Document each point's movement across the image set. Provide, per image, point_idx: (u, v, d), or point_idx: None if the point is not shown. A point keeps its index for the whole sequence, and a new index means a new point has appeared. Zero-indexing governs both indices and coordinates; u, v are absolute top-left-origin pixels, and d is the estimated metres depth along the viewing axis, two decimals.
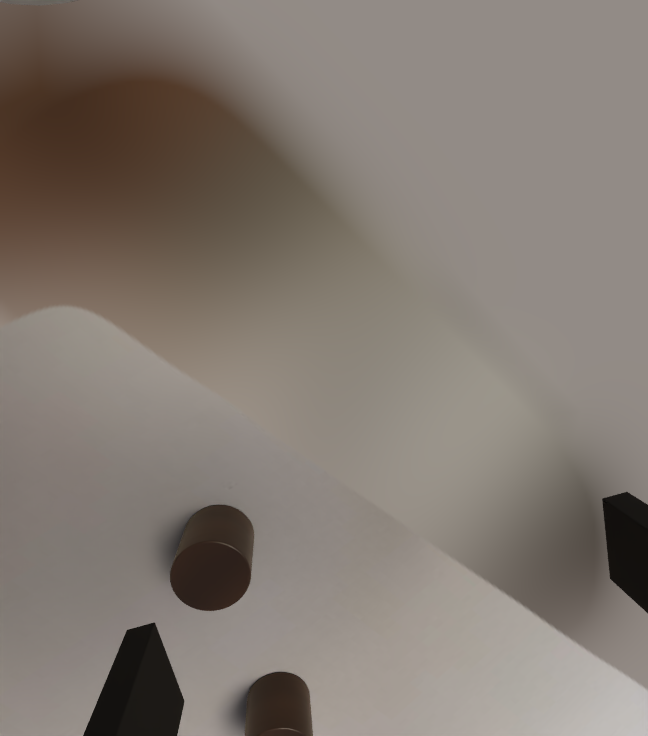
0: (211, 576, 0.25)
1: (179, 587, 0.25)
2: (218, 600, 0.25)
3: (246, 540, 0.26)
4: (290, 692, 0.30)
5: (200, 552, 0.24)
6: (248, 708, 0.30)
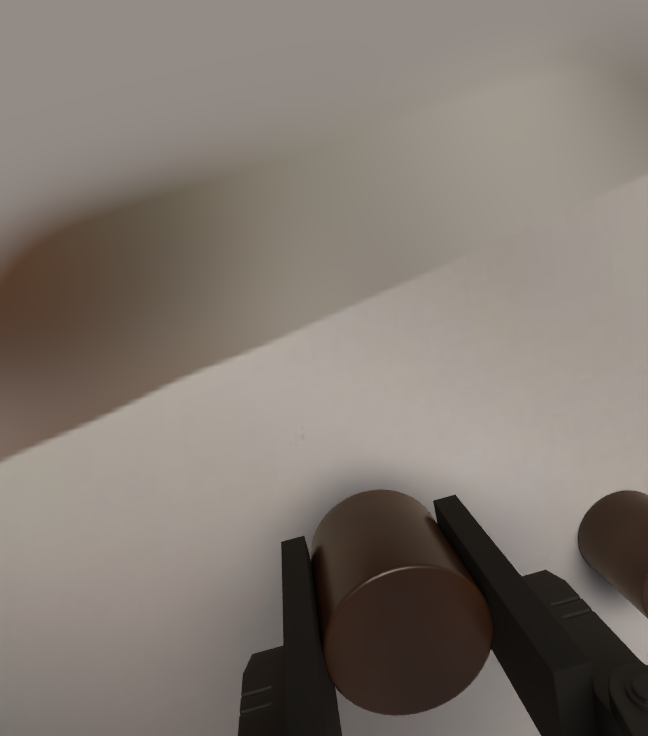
0: (409, 642, 0.11)
1: (394, 703, 0.12)
2: (467, 653, 0.11)
3: (394, 528, 0.12)
4: (621, 517, 0.20)
5: (347, 638, 0.11)
6: (603, 575, 0.21)
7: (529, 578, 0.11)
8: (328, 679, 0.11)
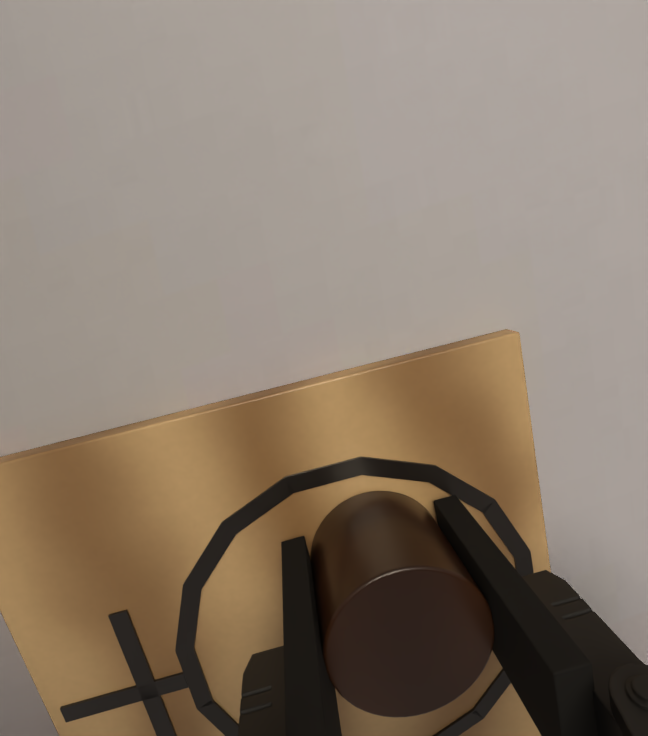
0: (409, 644, 0.11)
1: (394, 705, 0.11)
2: (468, 655, 0.11)
3: (395, 530, 0.12)
4: None
5: (348, 640, 0.11)
6: None
7: (529, 578, 0.11)
8: (328, 679, 0.11)
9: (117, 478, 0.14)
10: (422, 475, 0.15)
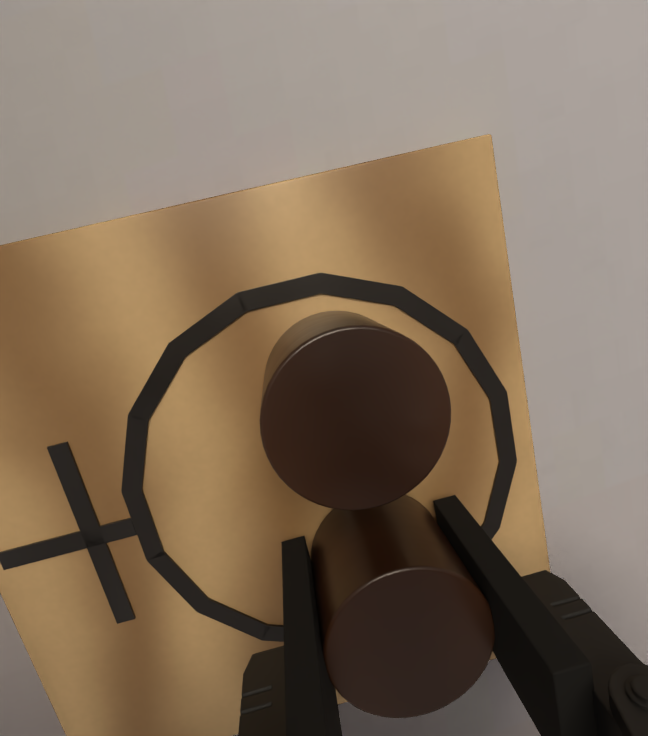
0: (356, 420, 0.10)
1: (341, 495, 0.10)
2: (422, 437, 0.10)
3: (346, 317, 0.11)
4: (342, 532, 0.13)
5: (287, 410, 0.10)
6: None
7: (529, 578, 0.11)
8: (328, 679, 0.11)
9: (52, 286, 0.13)
10: (387, 297, 0.14)
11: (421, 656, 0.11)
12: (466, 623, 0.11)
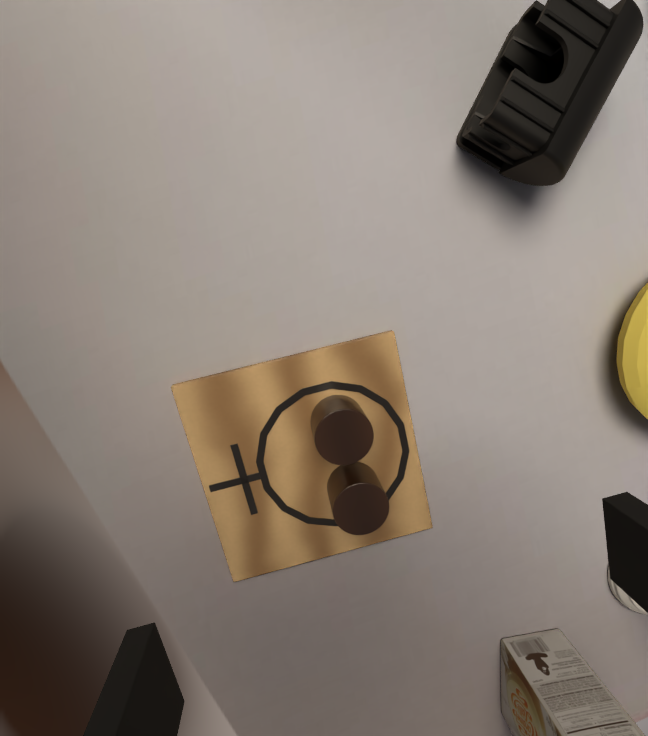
0: (343, 437, 0.33)
1: (339, 460, 0.33)
2: (364, 442, 0.33)
3: (341, 402, 0.34)
4: (339, 475, 0.36)
5: (322, 434, 0.33)
6: None
7: None
8: None
9: (236, 388, 0.35)
10: (356, 389, 0.36)
11: (364, 513, 0.34)
12: (379, 502, 0.34)
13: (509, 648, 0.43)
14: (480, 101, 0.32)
